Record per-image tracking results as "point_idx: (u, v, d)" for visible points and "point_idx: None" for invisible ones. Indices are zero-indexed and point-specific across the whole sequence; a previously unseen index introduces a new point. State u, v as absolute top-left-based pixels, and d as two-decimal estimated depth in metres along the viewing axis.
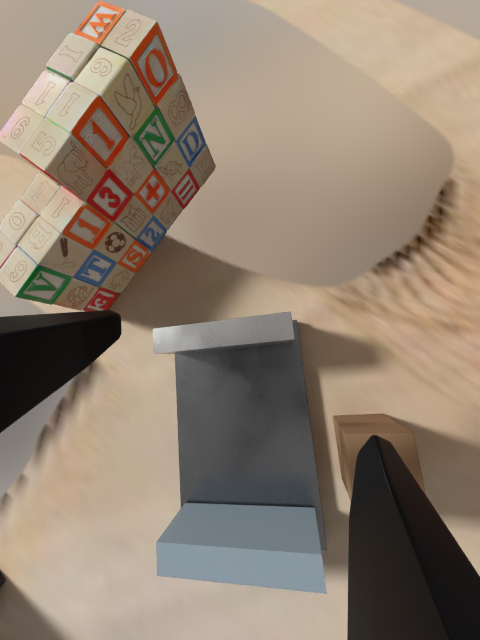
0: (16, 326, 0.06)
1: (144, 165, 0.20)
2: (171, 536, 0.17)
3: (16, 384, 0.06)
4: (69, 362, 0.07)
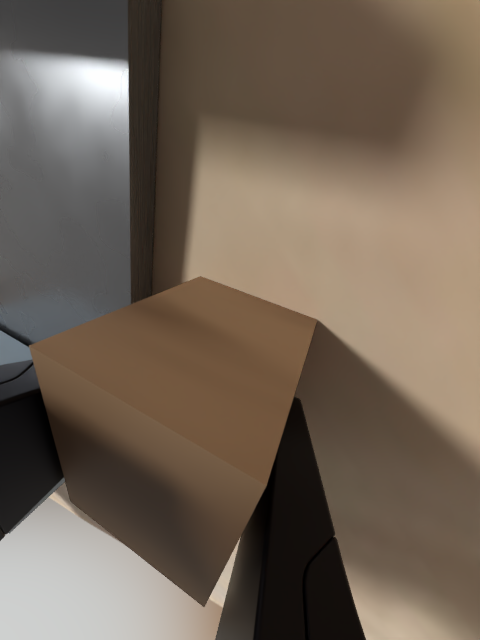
0: None
1: None
2: None
3: None
4: None
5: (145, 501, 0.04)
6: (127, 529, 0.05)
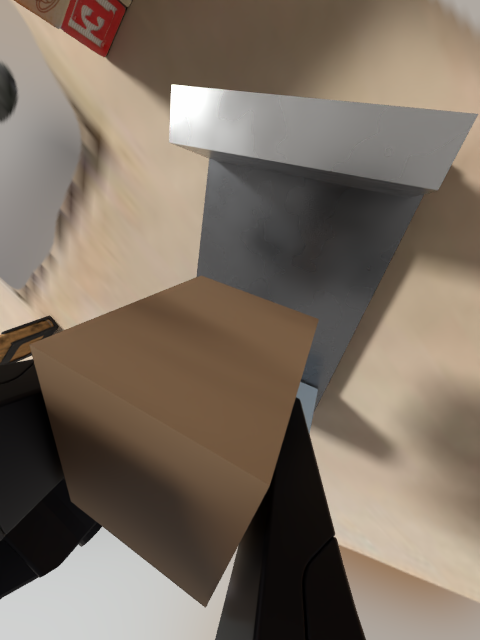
0: None
1: None
2: None
3: None
4: None
5: (146, 501, 0.04)
6: (128, 529, 0.05)
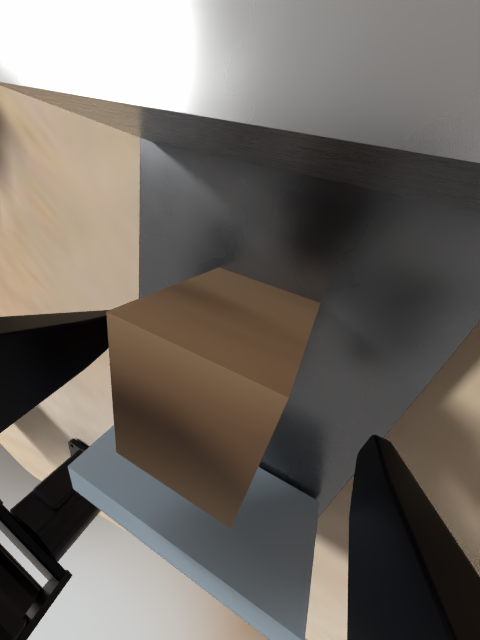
0: (16, 326, 0.06)
1: None
2: (92, 464, 0.11)
3: (16, 384, 0.06)
4: (69, 362, 0.07)
5: (188, 434, 0.05)
6: (168, 467, 0.06)
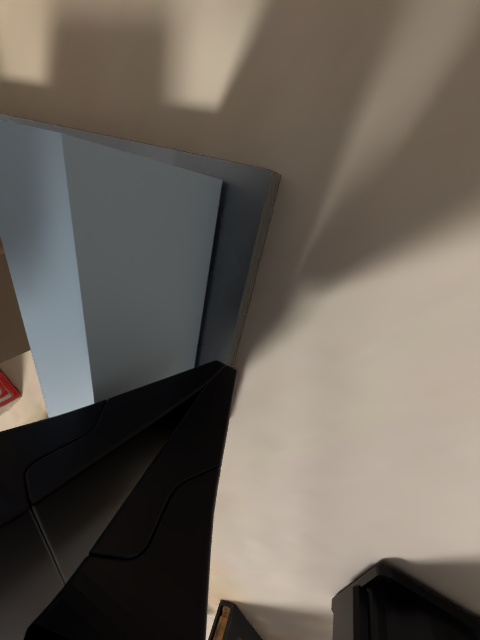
0: (154, 405, 0.05)
1: None
2: None
3: None
4: None
5: None
6: None
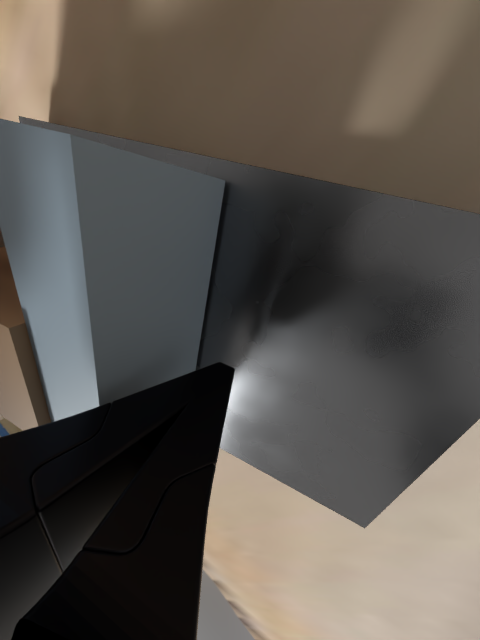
0: (159, 407, 0.05)
1: None
2: None
3: None
4: None
5: None
6: (4, 382, 0.06)
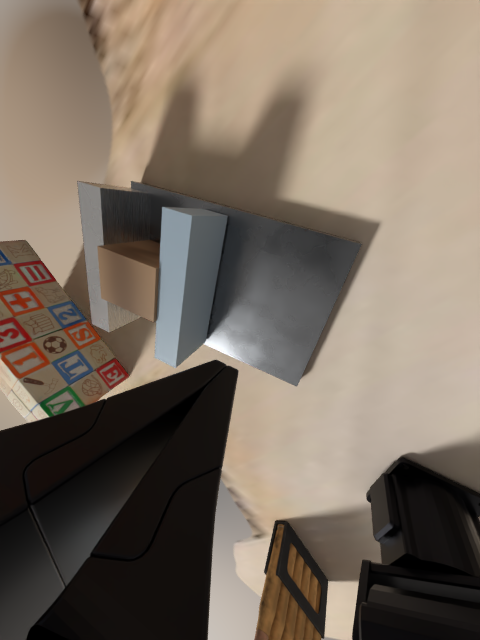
0: (153, 404, 0.05)
1: None
2: None
3: (146, 470, 0.05)
4: None
5: (123, 279, 0.16)
6: (143, 293, 0.16)
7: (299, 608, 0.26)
